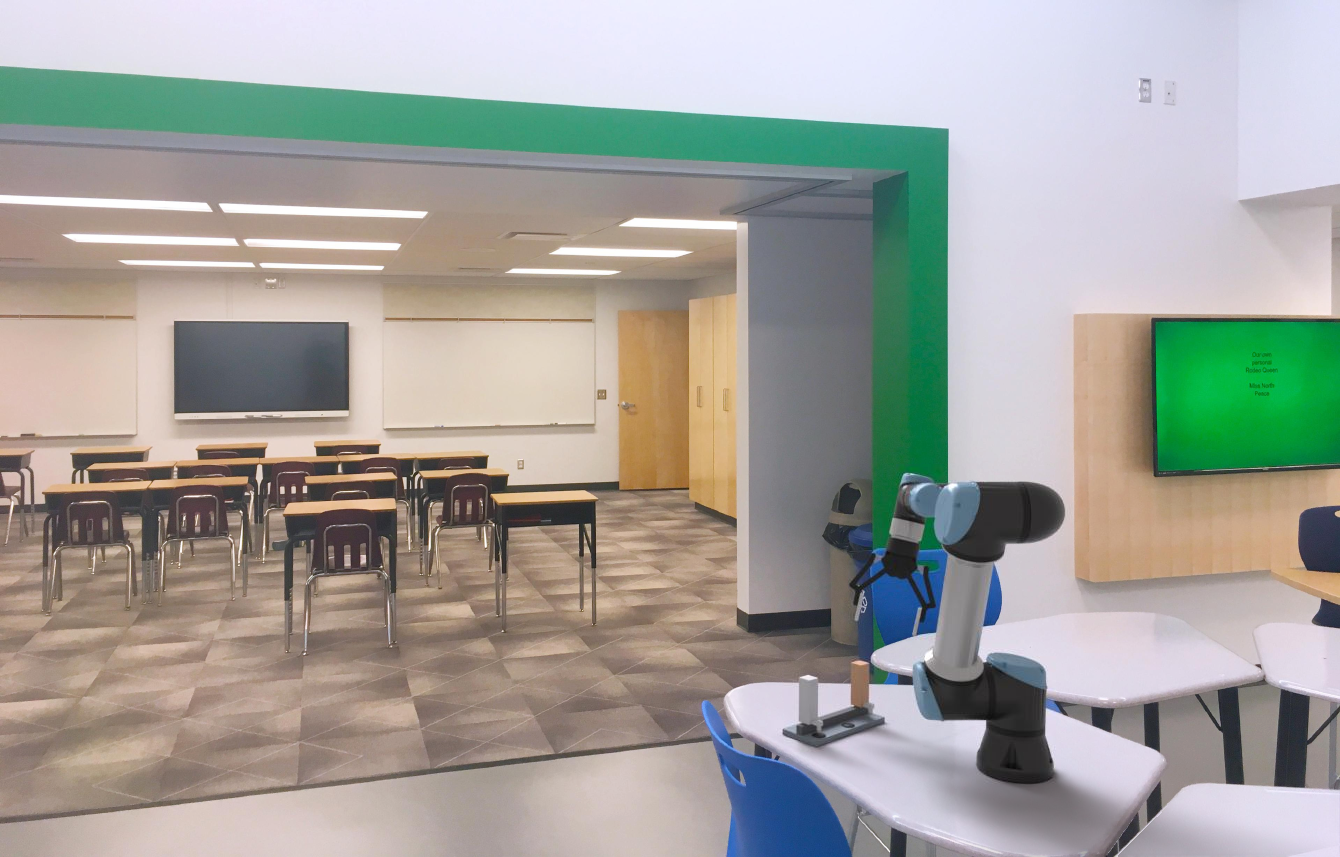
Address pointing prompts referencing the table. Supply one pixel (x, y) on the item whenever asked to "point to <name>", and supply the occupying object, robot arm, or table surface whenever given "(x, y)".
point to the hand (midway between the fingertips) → (884, 627)
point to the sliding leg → (860, 685)
